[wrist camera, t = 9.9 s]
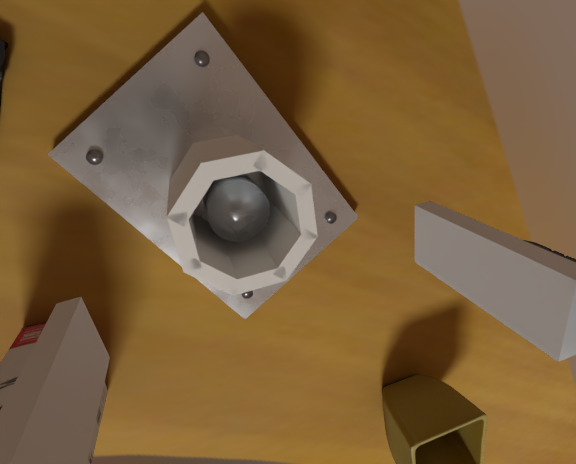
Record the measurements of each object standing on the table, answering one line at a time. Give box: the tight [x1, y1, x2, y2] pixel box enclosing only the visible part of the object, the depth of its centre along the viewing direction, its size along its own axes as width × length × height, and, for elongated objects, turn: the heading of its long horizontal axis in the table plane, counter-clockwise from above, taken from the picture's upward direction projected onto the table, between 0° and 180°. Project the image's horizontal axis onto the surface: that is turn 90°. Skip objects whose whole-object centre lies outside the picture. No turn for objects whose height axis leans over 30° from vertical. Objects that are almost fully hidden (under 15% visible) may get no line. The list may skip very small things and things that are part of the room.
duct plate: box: [48, 12, 359, 319], centre depth 26 cm, size 20×14×7 cm
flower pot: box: [382, 375, 487, 464], centre depth 40 cm, size 9×9×9 cm
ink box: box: [0, 323, 108, 464], centre depth 25 cm, size 9×5×12 cm, turn 2°
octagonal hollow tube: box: [166, 135, 318, 296], centre depth 24 cm, size 8×8×9 cm
